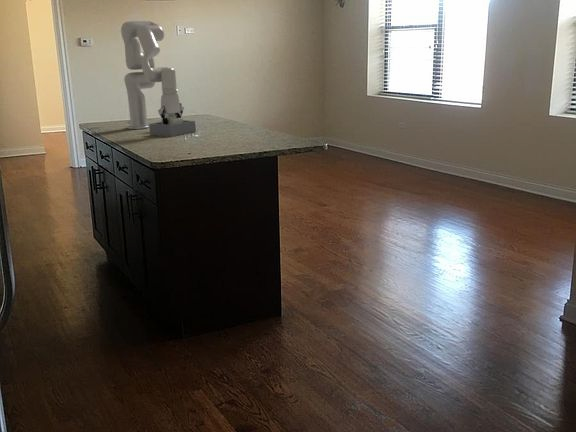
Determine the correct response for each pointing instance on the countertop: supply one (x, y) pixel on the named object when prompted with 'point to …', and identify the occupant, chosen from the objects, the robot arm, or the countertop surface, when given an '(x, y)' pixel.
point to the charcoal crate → (172, 128)
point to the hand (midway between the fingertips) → (172, 124)
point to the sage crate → (173, 120)
